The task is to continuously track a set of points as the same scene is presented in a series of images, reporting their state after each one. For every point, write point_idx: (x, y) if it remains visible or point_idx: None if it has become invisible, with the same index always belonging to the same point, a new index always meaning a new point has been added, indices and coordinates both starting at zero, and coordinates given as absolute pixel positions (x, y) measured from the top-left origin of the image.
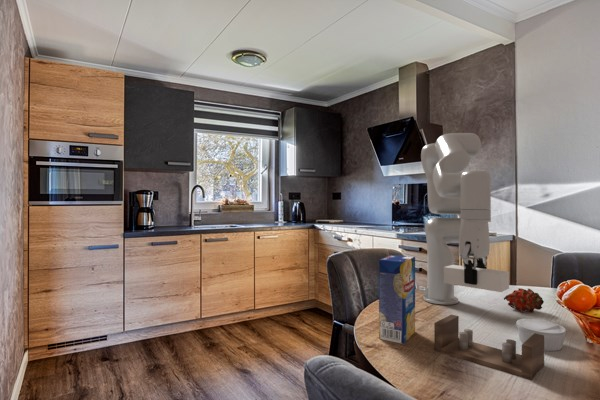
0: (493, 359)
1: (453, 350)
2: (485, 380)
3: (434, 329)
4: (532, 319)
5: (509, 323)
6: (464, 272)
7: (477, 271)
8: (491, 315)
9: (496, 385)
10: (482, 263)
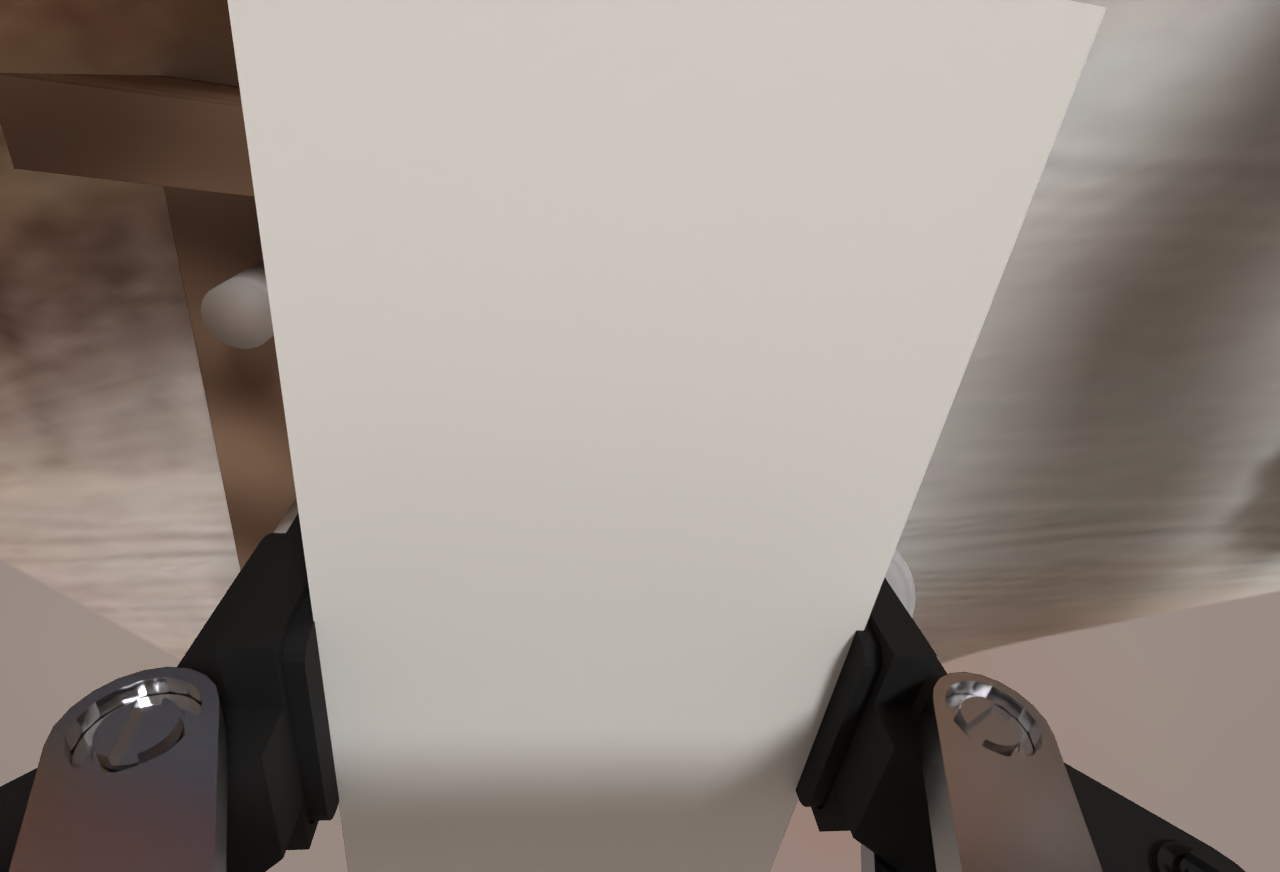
0: (281, 459)
1: (197, 233)
2: (42, 465)
3: (39, 74)
4: (894, 584)
5: (1079, 370)
6: (262, 575)
7: (342, 804)
8: (1250, 227)
9: (43, 512)
10: (883, 849)
